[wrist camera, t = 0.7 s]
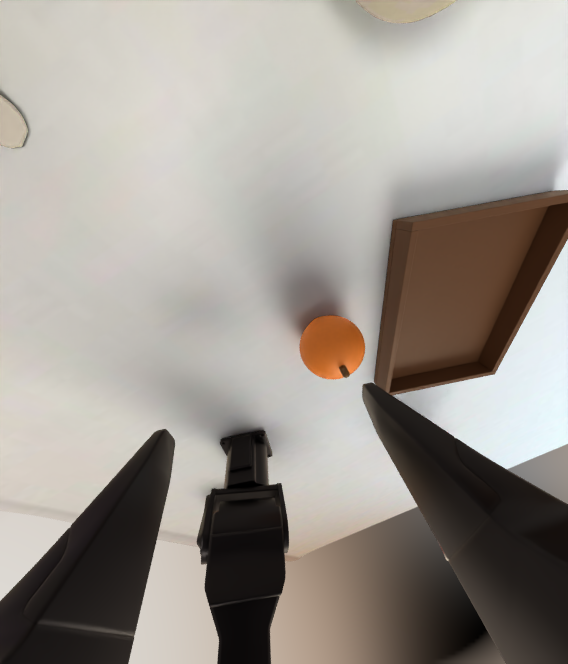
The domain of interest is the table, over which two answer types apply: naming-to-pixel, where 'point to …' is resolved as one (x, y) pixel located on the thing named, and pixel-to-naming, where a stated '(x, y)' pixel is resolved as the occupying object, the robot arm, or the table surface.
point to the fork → (11, 125)
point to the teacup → (403, 9)
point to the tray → (464, 287)
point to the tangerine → (332, 347)
